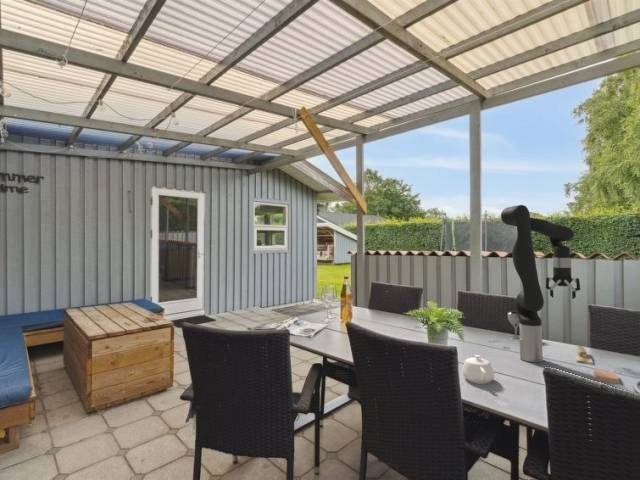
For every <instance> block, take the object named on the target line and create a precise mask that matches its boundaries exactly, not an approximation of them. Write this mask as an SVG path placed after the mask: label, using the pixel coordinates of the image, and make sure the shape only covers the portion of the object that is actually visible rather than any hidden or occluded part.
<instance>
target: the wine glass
mask: <svg viewBox="0 0 640 480" xmlns="http://www.w3.org/2000/svg"><path fill="white" fill-rule="evenodd" d="M507 319H508V321H509V323H510V324H511V325H512V326H513V329H514V331H515V332H514V333H515V334H514V335H509V336H508V337H509V338H510V339H514V340H520V335H517V332H518V331H517V330H518V327H519V318H518V315H517V310H509V311H507Z"/></svg>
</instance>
